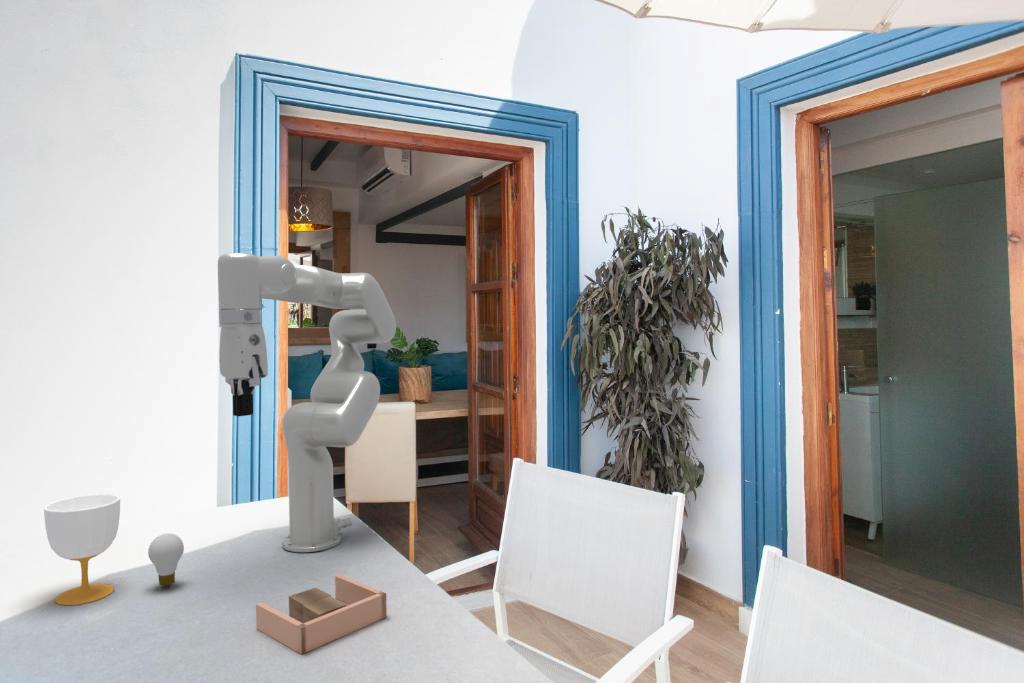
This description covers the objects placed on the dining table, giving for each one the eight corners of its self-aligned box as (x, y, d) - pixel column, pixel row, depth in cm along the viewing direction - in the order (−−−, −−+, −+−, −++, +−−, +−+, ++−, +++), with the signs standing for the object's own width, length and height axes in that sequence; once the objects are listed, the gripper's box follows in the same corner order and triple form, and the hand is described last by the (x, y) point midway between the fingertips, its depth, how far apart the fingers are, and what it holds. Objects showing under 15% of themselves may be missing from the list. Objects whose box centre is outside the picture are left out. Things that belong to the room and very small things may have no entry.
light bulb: (169, 594, 119) (168, 540, 119) (141, 592, 120) (140, 538, 120) (191, 582, 125) (190, 530, 124) (164, 579, 126) (163, 528, 125)
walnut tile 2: (330, 616, 110) (330, 595, 110) (347, 625, 106) (346, 604, 106) (303, 626, 106) (302, 605, 106) (319, 636, 103) (319, 614, 103)
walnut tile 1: (316, 607, 113) (315, 587, 113) (331, 615, 110) (331, 595, 110) (289, 616, 110) (288, 596, 110) (304, 626, 106) (303, 604, 106)
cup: (131, 593, 119) (129, 501, 119) (54, 615, 111) (52, 515, 110) (111, 577, 127) (109, 490, 127) (38, 595, 119) (36, 502, 118)
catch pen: (340, 596, 117) (339, 574, 117) (386, 616, 109) (386, 593, 109) (256, 628, 105) (256, 604, 105) (301, 654, 97) (301, 627, 97)
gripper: (280, 318, 122) (282, 416, 123) (239, 319, 131) (241, 409, 132) (242, 319, 116) (245, 421, 117) (202, 319, 126) (204, 414, 126)
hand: (243, 415), depth 125 cm, fingers closed
